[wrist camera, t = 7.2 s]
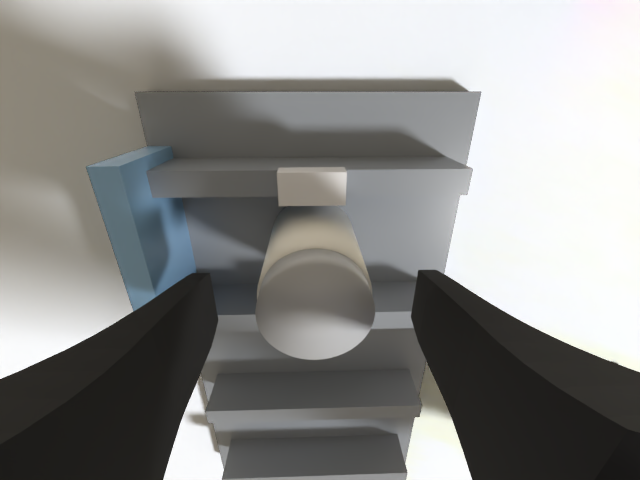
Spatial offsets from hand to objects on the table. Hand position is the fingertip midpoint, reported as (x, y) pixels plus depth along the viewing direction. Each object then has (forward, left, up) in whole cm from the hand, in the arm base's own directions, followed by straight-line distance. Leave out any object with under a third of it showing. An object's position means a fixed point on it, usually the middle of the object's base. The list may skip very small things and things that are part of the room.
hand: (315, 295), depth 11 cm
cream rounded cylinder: (0, 0, -5) cm, 5 cm away
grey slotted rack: (0, +7, -6) cm, 9 cm away
